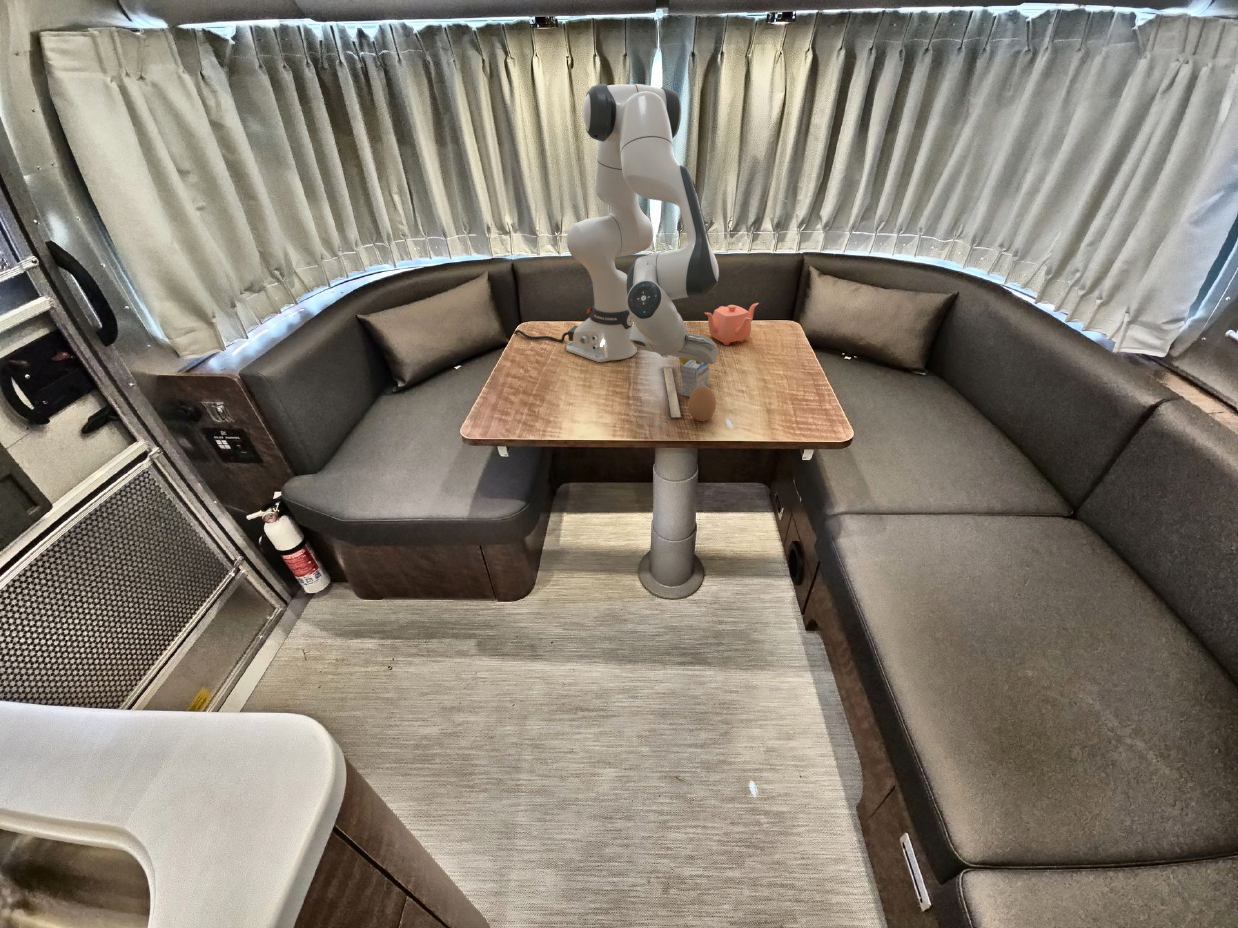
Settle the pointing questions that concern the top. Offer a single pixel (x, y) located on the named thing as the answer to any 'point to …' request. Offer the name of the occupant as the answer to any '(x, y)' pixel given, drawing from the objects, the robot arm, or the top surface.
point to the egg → (702, 403)
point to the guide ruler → (671, 393)
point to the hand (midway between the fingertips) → (683, 358)
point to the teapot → (730, 323)
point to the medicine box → (693, 377)
